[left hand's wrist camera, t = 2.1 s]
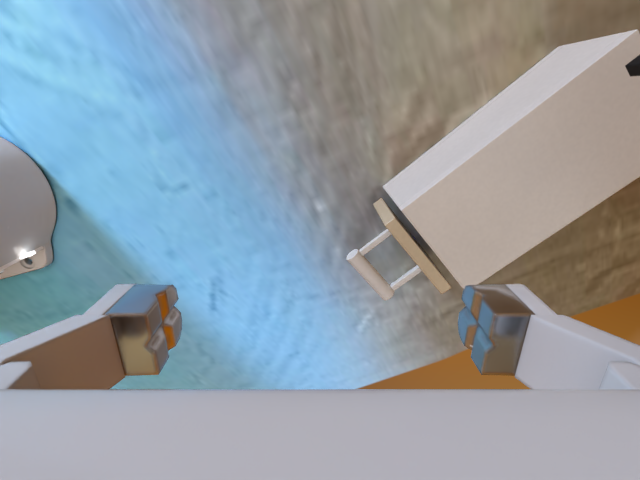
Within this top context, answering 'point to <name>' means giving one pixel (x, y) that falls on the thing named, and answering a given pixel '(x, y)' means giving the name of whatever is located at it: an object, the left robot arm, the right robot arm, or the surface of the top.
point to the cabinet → (528, 159)
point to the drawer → (409, 246)
